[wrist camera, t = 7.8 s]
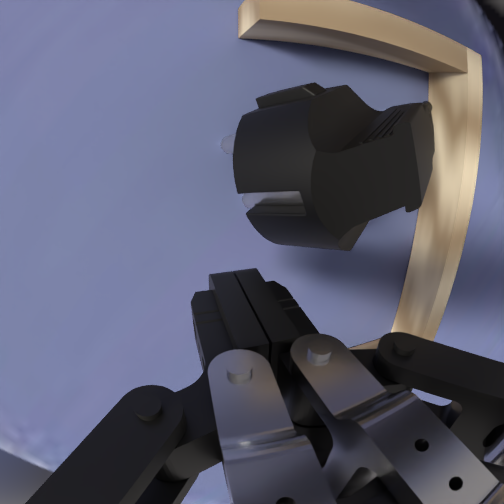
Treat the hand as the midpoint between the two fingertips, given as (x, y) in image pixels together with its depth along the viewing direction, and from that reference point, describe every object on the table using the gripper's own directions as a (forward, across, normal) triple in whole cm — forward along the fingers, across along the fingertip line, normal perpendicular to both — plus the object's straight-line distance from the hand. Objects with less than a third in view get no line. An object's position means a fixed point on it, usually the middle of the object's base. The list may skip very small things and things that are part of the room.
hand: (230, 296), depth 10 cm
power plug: (+5, -7, -5) cm, 10 cm away
